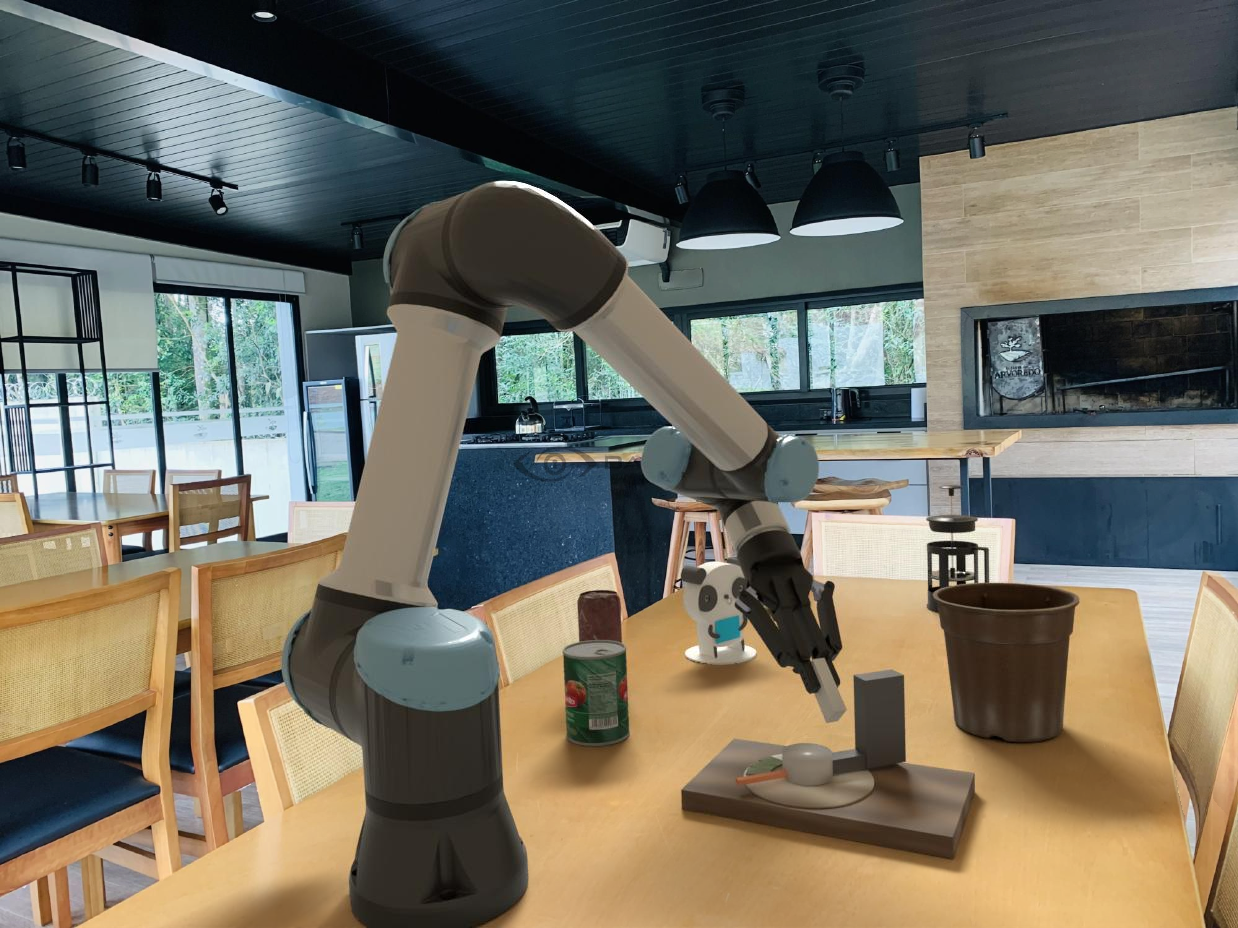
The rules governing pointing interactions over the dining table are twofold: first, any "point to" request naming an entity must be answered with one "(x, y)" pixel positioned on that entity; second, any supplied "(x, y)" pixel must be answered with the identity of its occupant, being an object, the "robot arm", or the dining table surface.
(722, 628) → the panda figurine
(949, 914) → the dining table surface
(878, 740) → the dial crank
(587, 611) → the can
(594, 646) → the canned tomato
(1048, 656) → the plant pot
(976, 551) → the french press
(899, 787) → the dial board
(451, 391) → the robot arm
